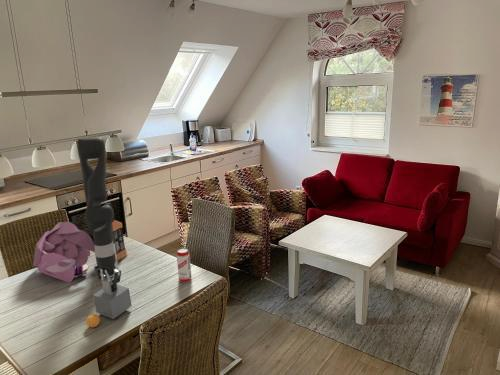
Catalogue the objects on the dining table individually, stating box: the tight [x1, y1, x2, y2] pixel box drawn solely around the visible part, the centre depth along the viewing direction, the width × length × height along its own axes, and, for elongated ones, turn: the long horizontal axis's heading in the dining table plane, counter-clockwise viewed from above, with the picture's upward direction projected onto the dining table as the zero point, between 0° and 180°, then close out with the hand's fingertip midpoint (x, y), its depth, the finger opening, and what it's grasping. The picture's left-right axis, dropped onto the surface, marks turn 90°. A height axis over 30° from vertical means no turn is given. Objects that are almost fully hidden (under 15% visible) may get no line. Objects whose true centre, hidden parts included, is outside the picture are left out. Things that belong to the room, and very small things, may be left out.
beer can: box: [176, 247, 192, 284], centre depth 186 cm, size 6×6×16 cm
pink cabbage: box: [32, 221, 95, 283], centre depth 197 cm, size 35×24×28 cm
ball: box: [86, 313, 101, 328], centre depth 154 cm, size 5×5×5 cm
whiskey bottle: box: [103, 202, 128, 262], centre depth 211 cm, size 10×10×32 cm
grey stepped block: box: [92, 276, 133, 320], centre depth 161 cm, size 10×10×15 cm
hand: (110, 289), depth 160 cm, fingers closed on grey stepped block, 4 cm apart
